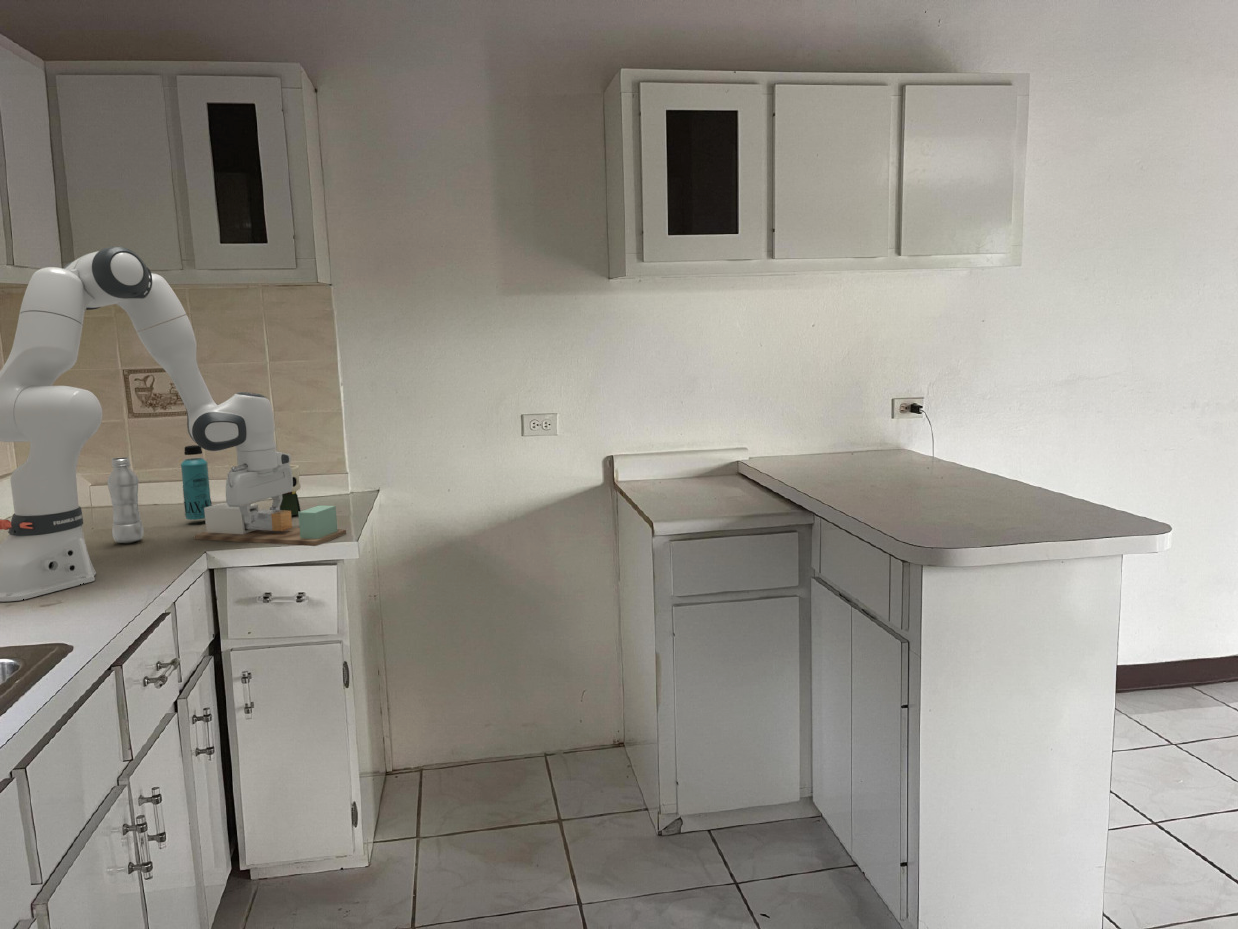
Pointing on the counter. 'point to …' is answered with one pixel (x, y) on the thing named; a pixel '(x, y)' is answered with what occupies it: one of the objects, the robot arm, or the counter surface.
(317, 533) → the socket
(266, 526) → the rectangular peg
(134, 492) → the plastic bottle
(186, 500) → the beverage bottle
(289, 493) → the character mug
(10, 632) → the counter surface
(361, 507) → the counter surface
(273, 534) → the baseboard
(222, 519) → the sleeve
